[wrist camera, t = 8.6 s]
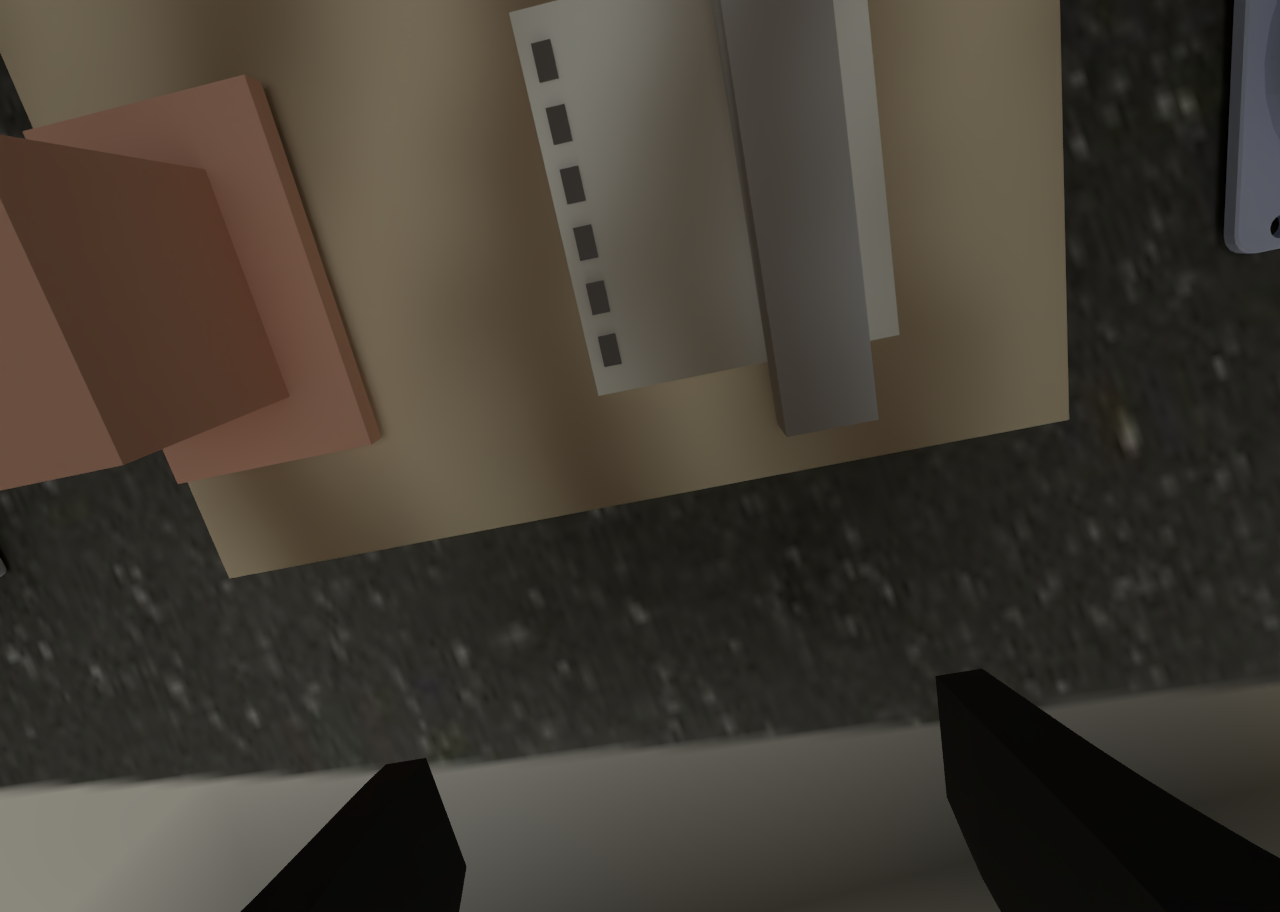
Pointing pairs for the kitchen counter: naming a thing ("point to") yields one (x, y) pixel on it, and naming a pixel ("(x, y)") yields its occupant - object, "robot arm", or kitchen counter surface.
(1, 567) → the medicine box
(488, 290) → the board
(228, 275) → the stub
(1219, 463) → the kitchen counter surface
